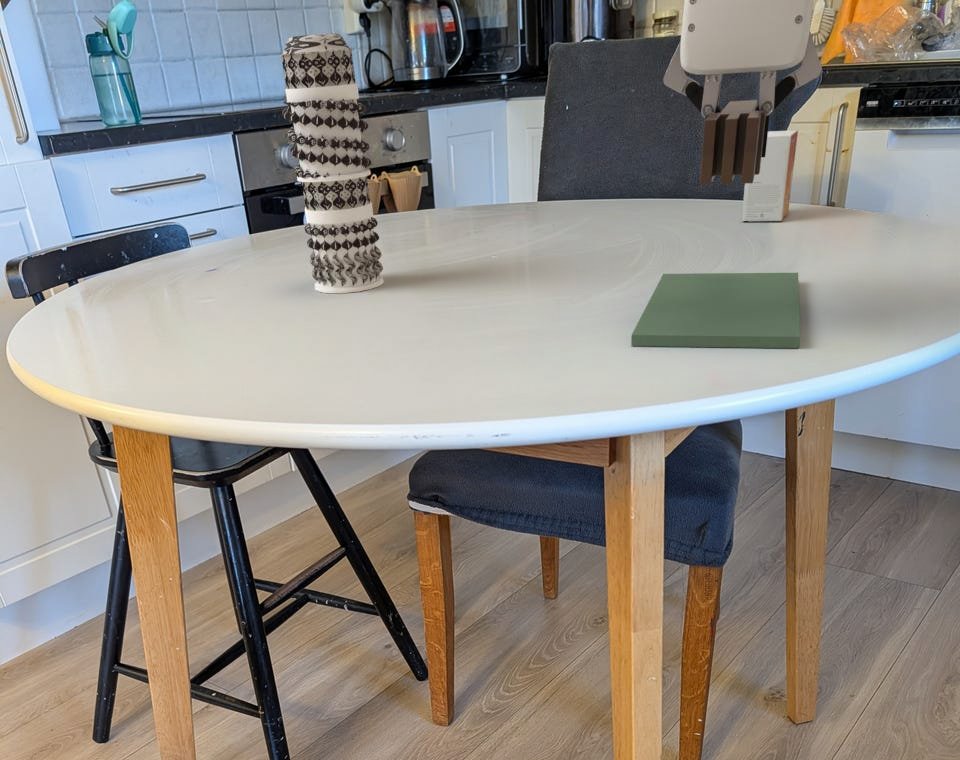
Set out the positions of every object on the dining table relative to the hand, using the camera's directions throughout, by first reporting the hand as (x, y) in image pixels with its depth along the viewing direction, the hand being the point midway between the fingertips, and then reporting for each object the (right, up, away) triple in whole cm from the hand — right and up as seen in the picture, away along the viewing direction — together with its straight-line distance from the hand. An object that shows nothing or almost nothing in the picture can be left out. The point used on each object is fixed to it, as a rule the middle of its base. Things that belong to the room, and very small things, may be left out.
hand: (732, 166), depth 77 cm
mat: (+1, -10, +7) cm, 13 cm away
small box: (+19, +18, +48) cm, 55 cm away
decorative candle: (-38, +1, +29) cm, 48 cm away
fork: (0, 0, +1) cm, 1 cm away
